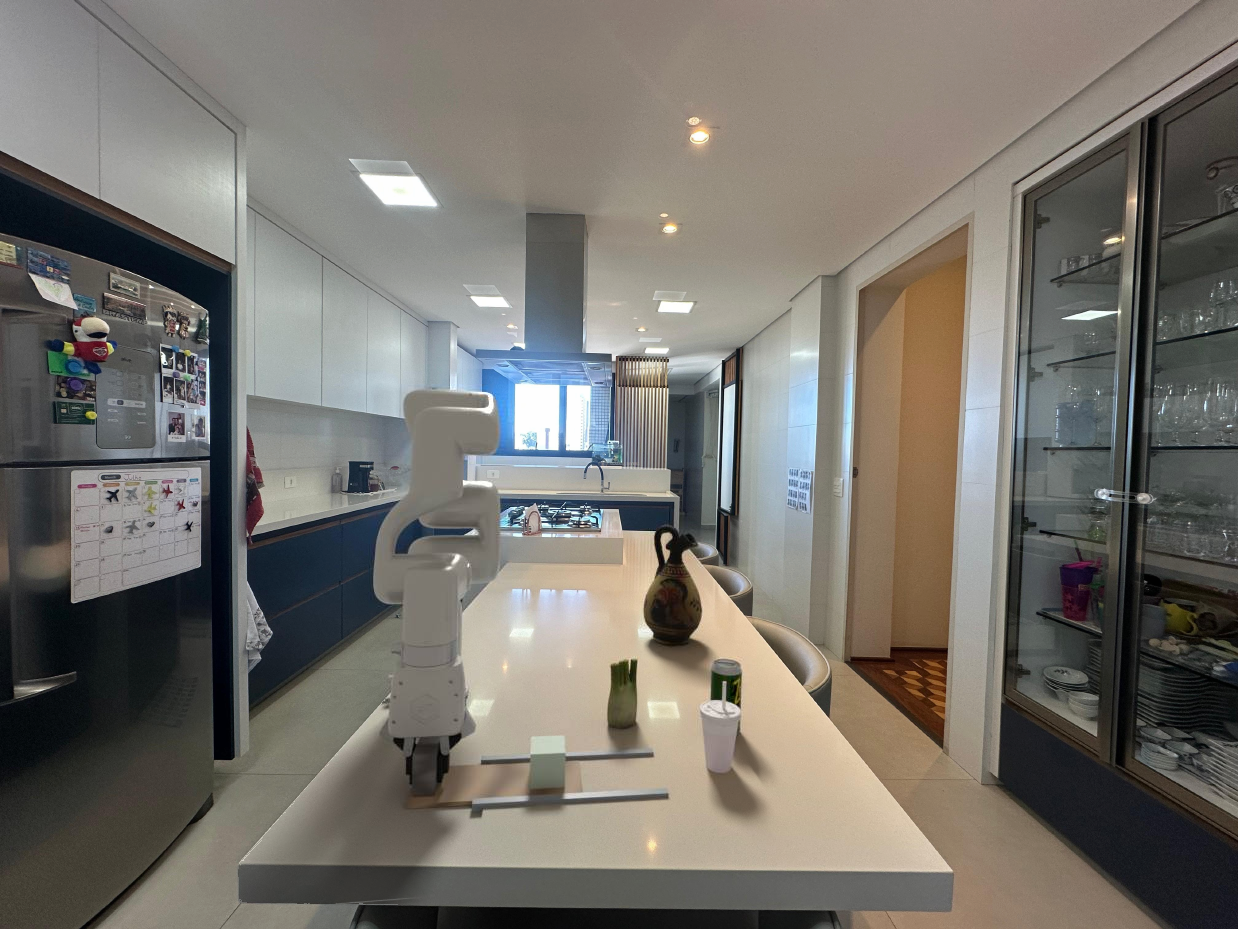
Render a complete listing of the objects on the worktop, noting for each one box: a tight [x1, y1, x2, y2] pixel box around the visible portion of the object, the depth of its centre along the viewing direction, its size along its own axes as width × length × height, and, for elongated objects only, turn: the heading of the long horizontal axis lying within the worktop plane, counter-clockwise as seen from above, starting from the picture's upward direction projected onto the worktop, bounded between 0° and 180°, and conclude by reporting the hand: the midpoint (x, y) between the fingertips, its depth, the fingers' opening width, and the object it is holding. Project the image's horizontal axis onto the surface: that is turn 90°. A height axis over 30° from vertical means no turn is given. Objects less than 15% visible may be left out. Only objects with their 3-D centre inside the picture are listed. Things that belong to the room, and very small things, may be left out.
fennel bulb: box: [606, 658, 638, 730], centre depth 100 cm, size 6×5×12 cm
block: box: [529, 735, 567, 789], centre depth 83 cm, size 5×5×5 cm
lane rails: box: [471, 747, 670, 813], centre depth 83 cm, size 27×12×1 cm, turn 98°
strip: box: [404, 737, 584, 810], centre depth 82 cm, size 24×9×7 cm, turn 98°
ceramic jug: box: [642, 524, 703, 647], centre depth 148 cm, size 17×15×30 cm
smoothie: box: [698, 681, 742, 774], centre depth 87 cm, size 6×6×14 cm
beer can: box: [709, 658, 743, 736], centre depth 100 cm, size 5×5×12 cm
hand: (427, 777), depth 81 cm, fingers closed on strip, 3 cm apart
